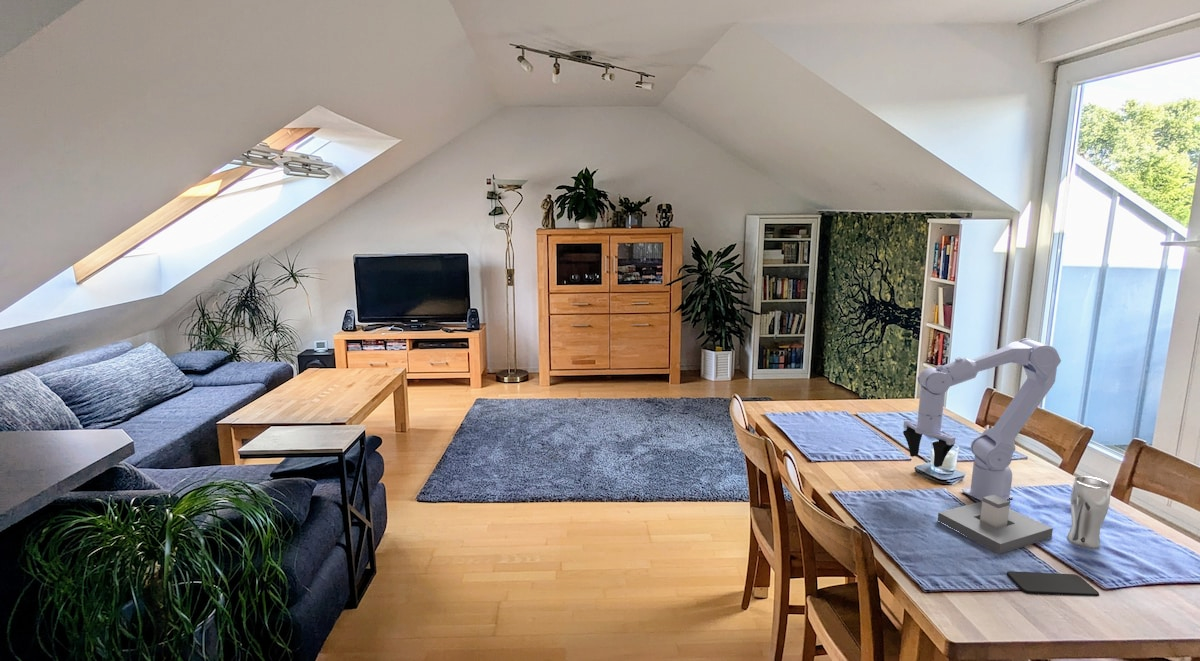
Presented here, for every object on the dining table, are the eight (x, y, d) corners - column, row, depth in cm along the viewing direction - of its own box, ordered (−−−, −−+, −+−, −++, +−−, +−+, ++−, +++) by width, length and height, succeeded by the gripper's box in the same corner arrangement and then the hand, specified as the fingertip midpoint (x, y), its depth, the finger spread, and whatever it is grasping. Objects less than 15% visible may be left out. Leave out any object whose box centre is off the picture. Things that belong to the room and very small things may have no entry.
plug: (990, 524, 153) (994, 494, 151) (1006, 532, 149) (1010, 501, 147) (979, 527, 151) (982, 497, 149) (994, 535, 147) (998, 504, 146)
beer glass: (1095, 536, 146) (1104, 477, 143) (1107, 551, 140) (1117, 490, 137) (1060, 532, 149) (1068, 473, 146) (1071, 546, 142) (1080, 486, 139)
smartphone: (1102, 595, 124) (1025, 591, 125) (1102, 599, 124) (1024, 595, 125) (1077, 573, 131) (1004, 570, 132) (1076, 577, 131) (1003, 574, 132)
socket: (987, 508, 161) (988, 499, 160) (1051, 537, 146) (1052, 528, 146) (937, 521, 154) (938, 512, 154) (999, 554, 139) (1000, 544, 139)
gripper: (897, 407, 170) (893, 453, 173) (943, 423, 157) (938, 473, 160) (915, 404, 173) (911, 449, 175) (963, 420, 160) (957, 469, 162)
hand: (925, 460), depth 168 cm, fingers open, 7 cm apart
